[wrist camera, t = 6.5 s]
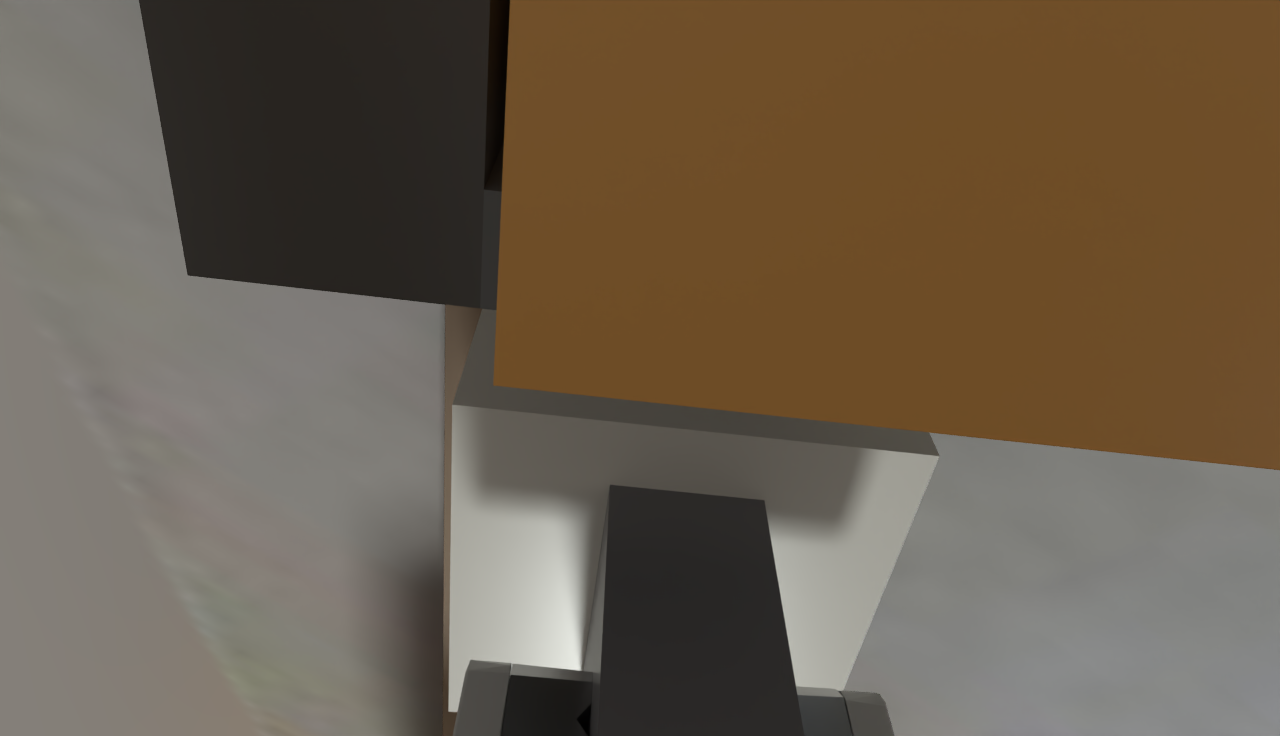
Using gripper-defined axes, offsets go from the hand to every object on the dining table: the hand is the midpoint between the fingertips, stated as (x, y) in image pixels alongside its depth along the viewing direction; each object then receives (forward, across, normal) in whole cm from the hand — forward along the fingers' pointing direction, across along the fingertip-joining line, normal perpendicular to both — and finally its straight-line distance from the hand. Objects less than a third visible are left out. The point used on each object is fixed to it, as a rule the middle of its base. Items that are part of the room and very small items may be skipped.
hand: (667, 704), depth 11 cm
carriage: (+6, 0, 0) cm, 6 cm away
